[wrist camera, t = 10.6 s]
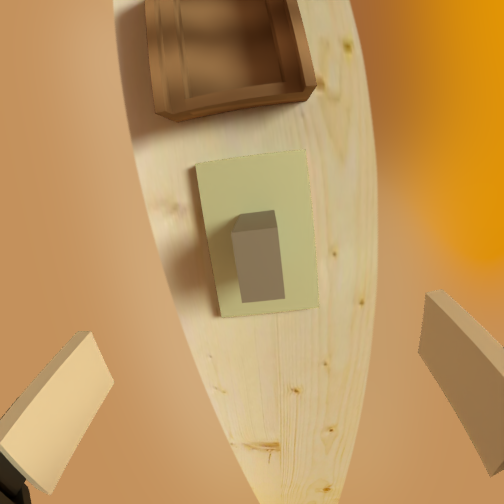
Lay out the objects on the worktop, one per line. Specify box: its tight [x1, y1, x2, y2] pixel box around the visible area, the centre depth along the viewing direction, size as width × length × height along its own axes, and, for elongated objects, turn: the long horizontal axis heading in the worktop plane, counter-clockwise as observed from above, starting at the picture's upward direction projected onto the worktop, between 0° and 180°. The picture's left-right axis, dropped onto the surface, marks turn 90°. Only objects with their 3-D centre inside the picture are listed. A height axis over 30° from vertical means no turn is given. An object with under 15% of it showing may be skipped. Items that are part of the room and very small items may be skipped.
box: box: [145, 0, 317, 122], centre depth 20 cm, size 16×12×6 cm
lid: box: [195, 149, 319, 318], centre depth 24 cm, size 15×10×9 cm, turn 8°
